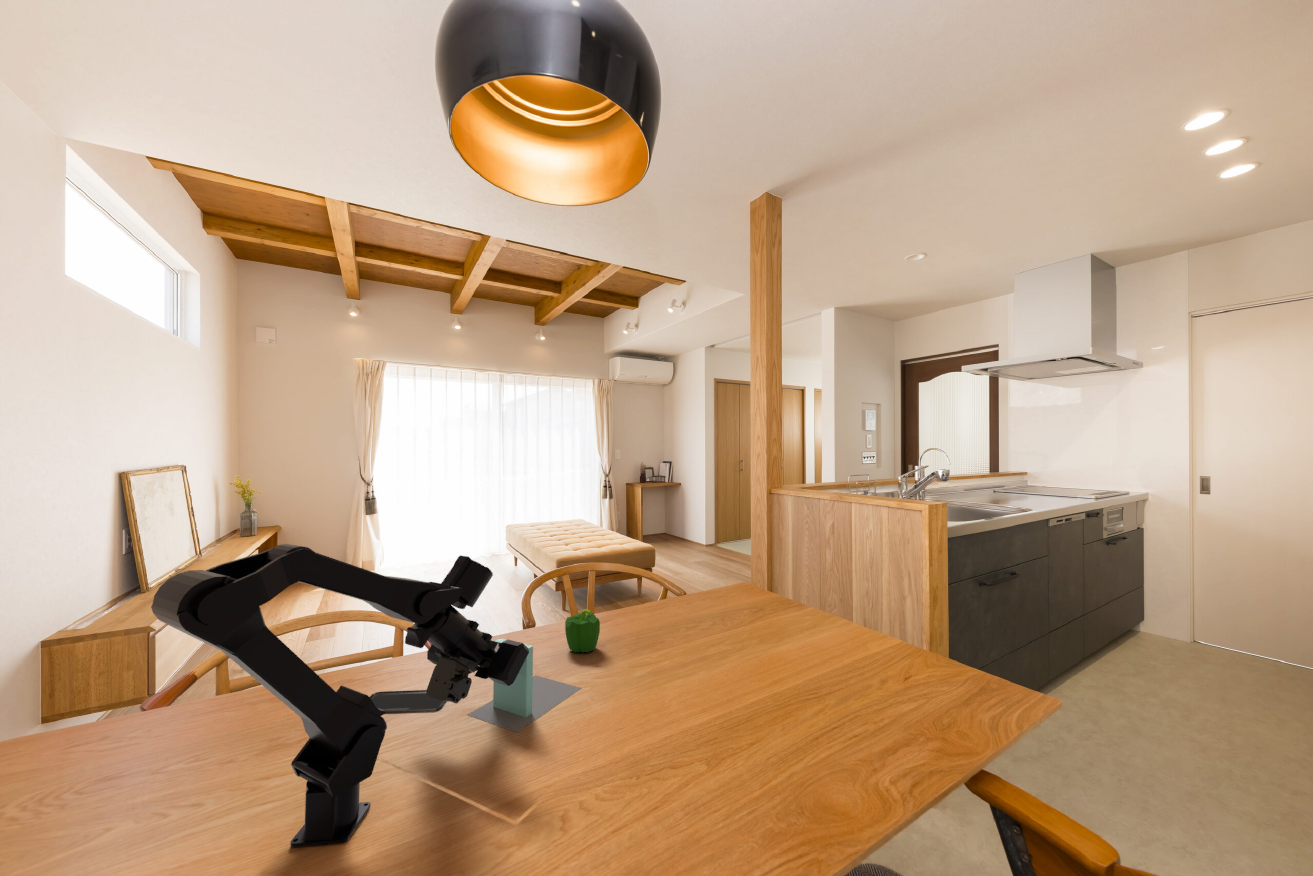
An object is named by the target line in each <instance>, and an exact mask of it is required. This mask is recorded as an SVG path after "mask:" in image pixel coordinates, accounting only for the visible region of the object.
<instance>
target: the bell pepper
mask: <svg viewBox="0 0 1313 876" xmlns="http://www.w3.org/2000/svg"><path fill="white" fill-rule="evenodd" d="M564 627H565V629H564V630H565V638H566V642H567V646H568V648H569V650H570V651H571V650H572V651H573V652H572V651H571V652H572V653H584V652H588V653H590V652H589V651H592V650H593V651H595V649H596V648H597V644H598V641H599V636H600V632H601V631H600V630H601V622H600V619H599V618H598V617H597V616H596V614H595V613H594V612H593V613H592V611H591V610H590V609H587V608H585V609H584V610H582V612H578V613H577V614H574V615H571V616H567V618H566V619H565V625H564ZM593 651H592V652H593Z"/></svg>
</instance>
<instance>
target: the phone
mask: <svg viewBox="0 0 1313 876" xmlns="http://www.w3.org/2000/svg"><path fill="white" fill-rule="evenodd" d="M426 692H427V689H421V690H416V689H414V690H388V691H376V692H374V693H372V694H370V696H369V697H370V699H371V700H372V701H373V703H374V705H375V706H376V708H379V709H381V710H384V711H386V713H385V714H399V713H400V714H401V713H405V714H406V713H425V712H426V713H427V712H430V713H431V712H432V713H433V712H437V711H440V710H442V708H443V707H444V706H445V704H446V702H447V701H439V700H436V699H434V698H431V697H428V696H427V693H426Z"/></svg>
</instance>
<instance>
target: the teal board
mask: <svg viewBox="0 0 1313 876" xmlns="http://www.w3.org/2000/svg"><path fill="white" fill-rule="evenodd" d="M506 640H507V639H505V638H498V639H495V640H494V641H495V642H499V643H502V642H503V641H506ZM523 644H524V645H525V646H526V647H527V648H528V649H529V654H528V656H527V658H526V660H525V661H524V663H523V665H522V667H521V669H520V671H519V673H518V675H517V677H516V679H515V681H514V683H513V684H511V685H510V686H507V685H503V684H500V683H497V682H495V681H493V687H492V689H493V692H492V693H493V694H492V697H493V698H492V700H493V707H495V708H498V709H501V710H504V711H507V712H510V713H513V714H516V715H519V716H522V717H525V718H526V717H528V716H529V715H531V714H532V688H533V676H534V675H533V674H534V673H533V672H534V668H533V667H534V646H533V645H531V644H526V643H523Z"/></svg>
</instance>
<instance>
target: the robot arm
mask: <svg viewBox="0 0 1313 876" xmlns="http://www.w3.org/2000/svg"><path fill="white" fill-rule="evenodd" d="M493 576H494V573H493V571H492V570H491V569H490V567H488V566H484V565H483V564H481V563H480V562H478V561H475V560H474V559H472V558H470V556H466V555H459V556H458V557H457V559H456V560H455V561H454V564H453V566H452V567H451V569H450V570H449V571H448V573H447V575H446V576H445V577H444V579H443V580H442V581H441V582H440V583H439V582H434V581H428V582H427V581H423V580H419V579H418V580H417V579H413V578H407V577H406V578H405V577H397V576H389V575H388V576H387V575H382V574H380V573H376V572H374V571H371V570H369V569H365V568H362V567H360V566H356V565H353V564H350V563H349V562H348V563H347V562H344V561H342V560H338V559H336V558H333V557H331V556H327V555H324V554H321V553H319V552H315V551H314V550H313V549H311V547H307V546H303V545H297V544H290V543H283V544H278V545H276V546H274V547H272V548H269V549H266V550H264V551H262V552H259V553H256V554H252V555H248V556H244V557H241V558H238V559H235V560H231V561H227V562H224V563H220V564H217V565H216V566H213V567H210V568H208V569H206V570H204V569H193V570H191V569H190V570H186V571H183V572H178V573H177V574H175V575H174V576H171V577H169V578H168V579H167V580H166V581H165V582H163V583H162V584H161V585H160V586H159V587H158V589H157V591H156V592H155V594H154V596H153V600H152V604H151V606H150V608H151V611H152V613H153V615H154V616H155V617H156V619H157V620H159V621H160V622H161V623H163V624H165V625H168V626H170V627H172V628H173V629H176V630H178V631H179V632H182V633H184V634H186V635H187V636H190V637H192V638H195V639H196V640H198V641H201V642H203V643H205V644H207V645H209V646H211V647H213V648H215V649H217V650H220V651H221V652H222V653H223V654H225V655H226V656H227V657H228V658H229V659H230V660H232V661H233V662H234V663H235V664H236V665H238V666H239V667H240V668H241V669H243V670H244V671H245V672H246V673H248V675H250V676H251V677H252V678H253V679H254V680H255V681H257V682H258V683H259V684H261V685H262V686H263V687H264V688H266V690H268V691H269V692H270V693H271V694H272V695H273V696H275V697H276V698H277V699H278V700H280V701H281V702H282V703H283V704H284V705H286V706H287V707H288V708H289V709H290V710H291V711H292V712H294V713H295V714H296V715H297V716H298V717H300V719H301V721H302V724H303V728H304V731H305V733H306V734H307V736H308V737H309V739H308V740H307V741H306V742H305V744H304V745H303V746H302V748H301V749H300V750H299V752H298V753H297V754H296V756H295V757H294V759H293V760H292V761H291V763H290V765H291V768H292V770H293V772H294V774H295V776H296V777H298V778H299V777H300V778H302V779H304V780H306V784H305V785H306V786H305V801H304V802H305V803H304V805H305V808H304V824H303V825H302V826H301V828H300V829H299V831H297V833H296V834H295V835H294V837H292V839H291V840H290V842H289V843H290V844H289V845H290V847H291V848H295V847H296V848H298V847H311V846H323V845H337V844H344V843H347V842H348V841H349V839H350V838H351V837H352V835H353V834H354V832H355V831H356V829H357V828H358V826H359V824H360V823H361V822H362V820H363V818H364V817H365V816H366V815H367V813H368V812H369V810H370V808H371V802H369V801H363V802H361V801H360V785H361V783H362V782H363V781H364V780H367V779H368V778H370V777H371V776H372V775H373V771H374V768H375V765H376V762H377V759H378V756H379V751H380V749H381V746H382V743H383V741H384V738H385V735H386V730H387V729H388V725H387V722H386V720H385V718H384V717H382V716H383V715H385V714H387V713H386V711H384V710H381V709H379V708H376V706H375V705H374V703H373V701H372V700H371V699H370V696H369V695H368V694H366V693H363V692H361V691H357V690H355V689H352V688H351V687H347V686H345V685H340V686H339V688H338V689H337V691H336V690H335V689H334V688H332V687H331V686H330V685H329V684H328V683H327V682H326V681H325V680H324V679H323V678H322V677H321V676H320V675H318V673H316V672H315V671H314V670H313V669H312V668H311V667H310V666H309V665H308V664H307V663H305V661H303V660H302V659H301V658H300V657H299V656H298V655H297V654H296V653H295V652H294V651H293V650H292V649H290V647H288V646H287V645H286V644H285V643H284V642H283V641H282V640H281V639H280V638H278V636H276V635H275V633H274V632H272V631H271V630H270V629H269V628H268V627H267V625H266V623H265V622H266V621H265V618H264V616H263V612H262V609H261V606H262V605H265V604H267V603H268V602H270V601H272V599H274V598H275V597H277V596H278V595H279V594H281V593H282V592H283V591H285V590H286V589H288V588H289V587H291V586H293V585H294V584H297V583H301V584H303V585H304V584H305V585H309V586H312V587H315V588H318V589H322V590H325V591H329V592H332V593H335V594H339V595H343V596H346V597H350V598H354V599H357V600H361V601H363V602H365V603H366V604H369V605H370V606H371V607H372V608H374V609H375V610H377V611H379V612H381V613H383V614H384V615H385V616H388V617H390V618H392V619H397V620H401V621H404V622H409V623H413V625H411V626H408V627H407V628H406V635H405V640H404V644H405V645H408V646H411V647H414V648H417V649H423V648H424V646H425V645H426V643H427V642H429V643H430V644H431V645H430V647H429V648H428V650H427V655H426V656H427V657H426V659H427V660H428V661H429V662H431V663H432V664H433V665H435V666H434V668H433V671H432V673H431V676H430V679H429V682H428V685H427V688H426V690H427V692H426V693H427V696H428V697H431V698H434V699H436V700H439V701H446V702H450V703H453V704H458V703H459V702H460V701H461V700H463V699H466V698H467V697H468V695H469V691H470V690H471V686H472V684H473V681H472V678H471V677H469V675H470V674H472V673H474V676H473V677H477V678H480V679H483V680H487V679H489V680H491V681H492V682H494V681H495V682H497V683H500V684H503V685H507V686H510V685H511V684H513V683H514V681H515V679H516V677H517V675H518V673H519V671H520V669H521V667H522V665H523V663H524V661H525V660H526V658H527V656H528V654H529V649H528V648H527V647H526V646H525V645H524V644H525V643H523V642H520V641H516V640H512V639H506V641H503V642H502V643H499V642H495V641H496V640H492V638H493V635H492V634H490V633H488V632H485V631H484V632H483V631H481V630H480V629H479V628H478V627H479V626H480V623H478V622H477V621H474V620H471V619H467V618H466V616H464V615H463V614H462V613H461V612H460V611H458V610H457V609H461V610H464V609H465V608H466V607H467V606H468V607H470V608H473V607H474V606H475V605H476V603H477V601H478V600H479V599H480V596H481V595H482V594H483V591H484V590H485V588H486V587H487V586H488V584H489V582H490V581H491V579H492V577H493ZM456 608H457V609H456Z"/></svg>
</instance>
